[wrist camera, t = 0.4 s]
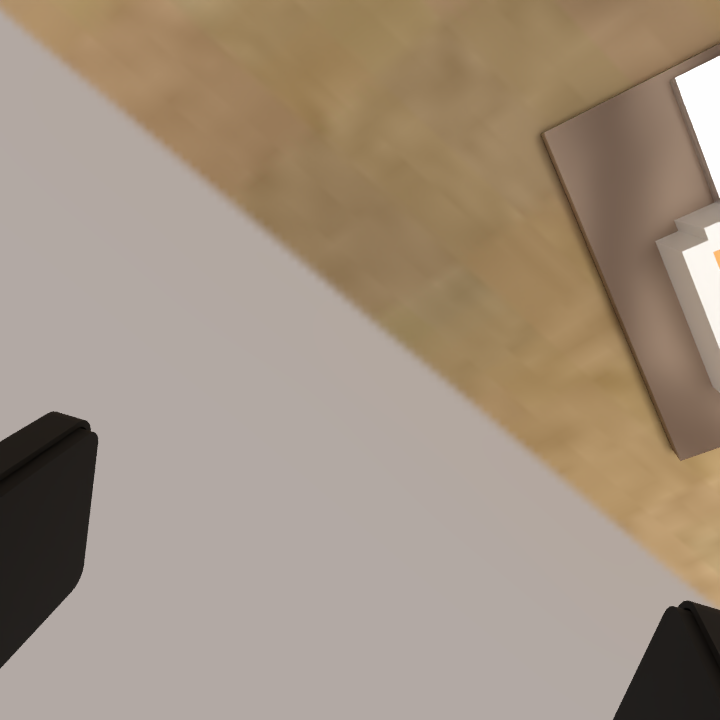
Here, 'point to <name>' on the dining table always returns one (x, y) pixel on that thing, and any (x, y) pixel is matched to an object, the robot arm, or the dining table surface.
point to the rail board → (657, 233)
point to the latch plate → (717, 257)
